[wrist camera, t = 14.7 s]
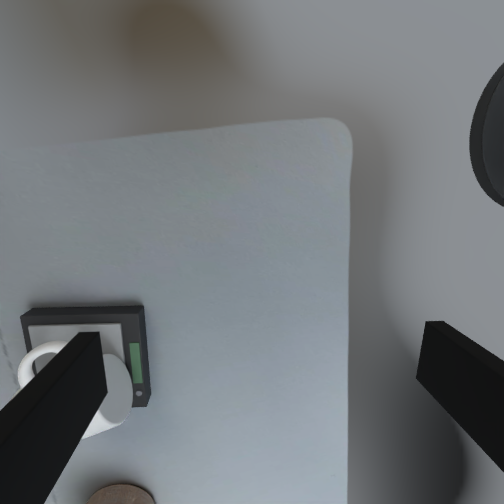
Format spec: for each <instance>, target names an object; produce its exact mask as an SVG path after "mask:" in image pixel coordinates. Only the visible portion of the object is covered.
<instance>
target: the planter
mask: <svg viewBox="0 0 504 504" xmlns="http://www.w3.org/2000/svg"><path fill="white" fill-rule="evenodd" d="M86 504H155V503H154V501H153V499H152V497H151V496H150V495H149V494H148V493H147V492H146V491H144V490H143V489H141V488H139V487H137V486H134V485H129V484H114V485H110V486H107V487H104V488H102V489H100V490H98V491H97V492H95V493H94V494H93V495H92V496H91V497H90V498H89V500H88V502H87V503H86Z"/></svg>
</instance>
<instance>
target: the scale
mask: <svg viewBox="0 0 504 504" xmlns="http://www.w3.org/2000/svg"><path fill="white" fill-rule="evenodd" d="M20 319H21V324H22V329H23V334H24V339H25V344H26V349H27V354H28V353H29V352H30V351H31V350H33V349H34V348H36V347H37V346H39V345H42V344H44V343H47V342H50V341H66V342H69V341H70V340H71V339H72V338H73V337H74V336H75V335H76V334H77V333H78V332H97V331H100V338H101V345H102V353H103V355H104V354H112V355H115V356H117V357H118V358H119V359H120V360H121V361H122V362H123V363H124V365H125V366H126V368H127V370H128V372H129V375H130V378H131V382H132V388H133V401H132V407H147V404H148V401H149V399H150V396H151V388H150V376H149V364H148V352H147V340H146V328H145V316H144V306H108V307H61V308H32V309H31V310H29V311H28V312H26V313H25V314H23V315H22V316H20ZM56 354H57V353H53V352H49V353H45V354H42V355H40V356H39V357H37V358H36V359H35V360H34V361H33V363H32V370H33V373H34V375H36V374H37V373H38V372H39V371H40V370H41V369H42V368H43V367H44V366H45V365H46V364H47V363H48V362H49V361H50V360H51V359H52V358H53V357H54V356H55V355H56Z"/></svg>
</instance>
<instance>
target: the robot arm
mask: <svg viewBox="0 0 504 504" xmlns="http://www.w3.org/2000/svg"><path fill="white" fill-rule="evenodd" d="M416 379H417V380H418V381H419V382H420V383H421V384H422V385H423V386H424V388H426V390H427V391H428V392H429V393H430V394H431V395H432V396H433V397H434V398H435V399H436V400H437V401H438V402H439V404H441V406H442V407H443V408H444V409H445V410H446V411H447V412H448V413H449V414H450V415H451V416H452V417H453V419H454V420H455V421H456V422H457V423H458V424H459V425H460V426H461V427H462V428H463V429H464V430H465V431H466V432H467V433H468V435H469V436H470V437H471V438H472V439H473V440H474V441H475V442H476V443H477V444H478V445H479V446H480V447H481V448H482V450H483V451H484V452H485V453H486V454H487V455H488V456H489V457H490V458H491V459H492V460H493V461H494V462H495V463H496V464H497V466H498V467H499V468H500V469H501V470H502V471H503V472H504V361H503V360H501V359H500V358H498V357H497V356H495V355H494V354H492V353H491V352H489V351H488V350H486V349H485V348H483V347H482V346H480V345H479V344H477V343H476V342H474V341H473V340H471V339H470V338H468V337H466V336H465V335H463V334H462V333H461V332H459V331H457V330H456V329H455V328H453V327H452V326H450V325H449V324H447V323H445V322H444V321H426V323H425V329H424V334H423V340H422V346H421V352H420V358H419V364H418V369H417V375H416ZM107 393H108V389H107V382H106V374H105V367H104V360H103V353H102V345H101V338H100V331H97V332H78V333H77V334H76V335H75V336H74V337H73V338H72V339H71V340H70V341H69V342H68V343H67V344H66V345H65V346H64V347H63V348H62V349H61V350H60V351H59V352H58V353H57V354H56V355H55V356H54V357H53V358H52V359H51V360H50V361H49V362H48V363H47V364H46V365H45V366H44V367H43V368H42V369H41V370H40V371H39V372H38V373H37V374H36V375H35V376H34V377H33V379H32V380H31V381H30V382H29V383H28V384H27V385H26V386H25V387H24V388H23V389H22V390H21V391H20V392H19V393H18V394H17V395H16V396H15V397H14V398H13V399H12V400H11V401H10V402H9V403H8V404H7V405H6V406H5V407H4V408H3V409H2V410H1V411H0V504H44V503H45V501H46V499H47V497H48V496H49V494H50V492H51V490H52V489H53V487H54V485H55V484H56V482H57V480H58V478H59V477H60V475H61V473H62V471H63V470H64V468H65V466H66V464H67V463H68V461H69V459H70V458H71V456H72V454H73V452H74V451H75V449H76V447H77V445H78V444H79V442H80V440H81V438H82V437H83V435H84V433H85V431H86V430H87V428H88V426H89V425H90V423H91V421H92V419H93V418H94V416H95V414H96V412H97V411H98V409H99V407H100V405H101V404H102V402H103V400H104V398H105V397H106V395H107Z"/></svg>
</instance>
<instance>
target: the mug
mask: <svg viewBox="0 0 504 504" xmlns="http://www.w3.org/2000/svg"><path fill="white" fill-rule="evenodd" d="M67 343H68V342H66V341H50V342H47V343H44V344H42V345H39V346H37V347H36V348H34V349H33V350H31V351H30V352H29V353H28V354H27V355H26V356H25V357H24V358H23V360H22V361H21V363H20V365H19V368H18V380H19V384H20V386H21V388H20V389H19V390H18V391H17V392H16V393H15V394H14V395H13V397H12V398H11V400H12V399H13V398H14V397H15V396H16V395H17V394H18V393H19V392H20V391H21V390H22V389H23V388H24V387H25V386H26V385H27V384H28V383H29V382H30V381H31V380H32V379H33V377H34V376H35V375H34V373H33V370H32V363H33V361H34V360H35V359H36V358H37V357H39V356H40V355H42V354H45V353H49V352H53V353H58V352H59V351H60V350H61V349H62V348H63V347H64V346H65V345H66V344H67ZM103 360H104V367H105V374H106V382H107V389H108V393H107V395H106V397H105V398H104V400H103V402H102V404H101V405H100V407H99V409H98V411H97V412H96V414H95V416H94V418H93V419H92V421H91V423H90V425H89V426H88V428H87V430H86V431H85V433H84V435H83V437H82V438H81V440H82V439H84V438H87V437H90V436H92V435H95V434H98V433H100V432H103V431H106V430H108V429H111V428H113V427H116V426H119V425H120V424H122V423H123V422H124V421H125V420H126V419H127V417H128V415H129V413H130V410H131V407H132V401H133V388H132V382H131V378H130V375H129V372H128V370H127V368H126V366H125V365H124V363H123V362H122V361H121V360H120V359H119V358H118V357H117V356H115V355H112V354H104V355H103ZM11 400H10V401H11Z"/></svg>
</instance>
